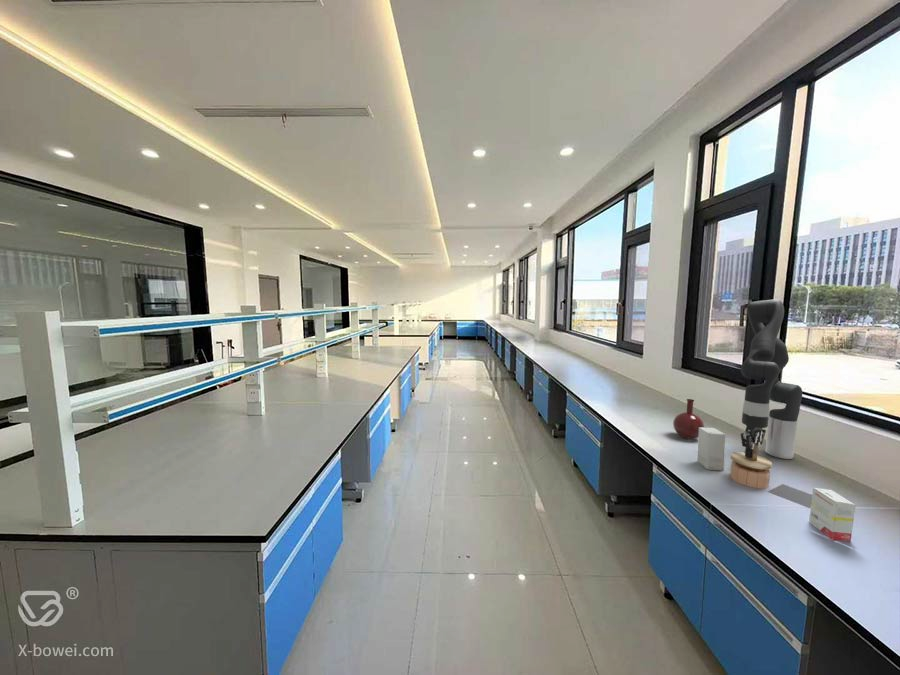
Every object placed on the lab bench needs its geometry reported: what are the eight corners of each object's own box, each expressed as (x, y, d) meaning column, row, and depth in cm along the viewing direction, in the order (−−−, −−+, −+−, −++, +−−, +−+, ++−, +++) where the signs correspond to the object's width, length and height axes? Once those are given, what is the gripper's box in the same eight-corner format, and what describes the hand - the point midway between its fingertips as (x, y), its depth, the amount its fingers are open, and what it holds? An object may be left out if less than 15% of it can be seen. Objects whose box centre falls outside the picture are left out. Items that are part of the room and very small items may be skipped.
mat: (782, 484, 132) (782, 484, 131) (827, 501, 121) (827, 500, 121) (767, 492, 126) (767, 491, 126) (812, 510, 115) (812, 509, 115)
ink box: (852, 543, 100) (857, 504, 98) (831, 540, 101) (836, 502, 99) (826, 524, 108) (831, 488, 107) (807, 522, 109) (812, 486, 108)
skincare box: (723, 471, 142) (727, 434, 140) (705, 469, 143) (708, 433, 142) (712, 462, 150) (715, 427, 148) (695, 460, 151) (698, 426, 150)
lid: (740, 452, 141) (741, 435, 140) (778, 465, 130) (780, 447, 130) (724, 458, 136) (725, 441, 135) (762, 472, 125) (764, 453, 124)
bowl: (739, 472, 141) (740, 458, 141) (773, 484, 132) (775, 469, 131) (724, 478, 136) (726, 463, 136) (759, 491, 127) (761, 476, 126)
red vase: (702, 436, 179) (705, 398, 177) (704, 445, 168) (707, 405, 166) (672, 431, 186) (674, 395, 184) (672, 439, 175) (675, 400, 173)
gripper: (752, 407, 138) (748, 449, 139) (734, 412, 131) (730, 456, 133) (777, 413, 131) (772, 456, 133) (758, 418, 125) (754, 464, 126)
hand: (751, 456), depth 133 cm, fingers closed on lid, 3 cm apart
